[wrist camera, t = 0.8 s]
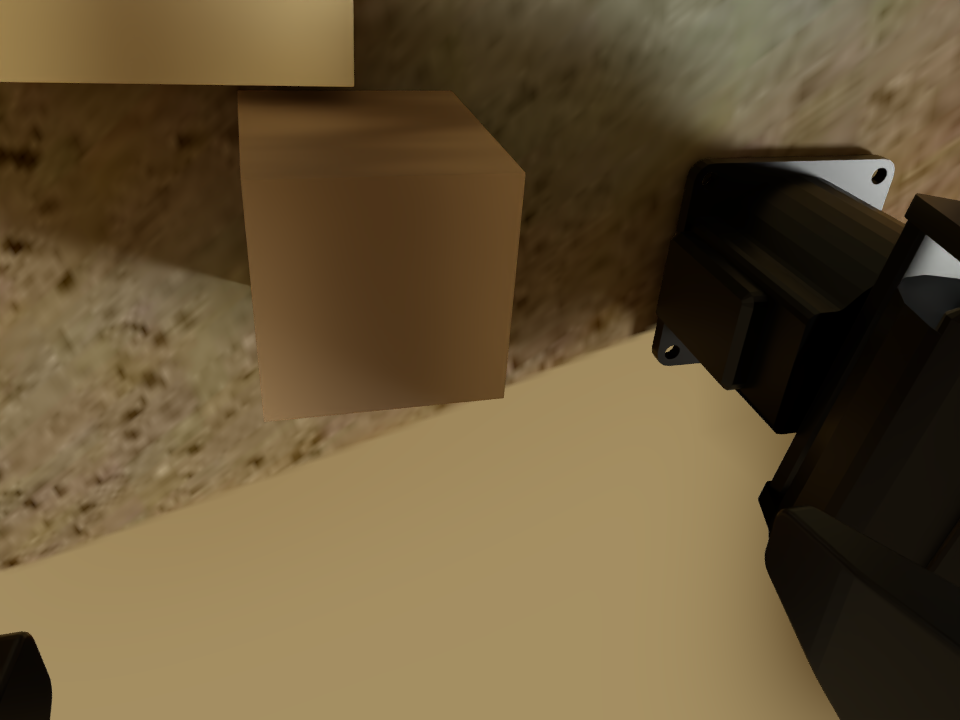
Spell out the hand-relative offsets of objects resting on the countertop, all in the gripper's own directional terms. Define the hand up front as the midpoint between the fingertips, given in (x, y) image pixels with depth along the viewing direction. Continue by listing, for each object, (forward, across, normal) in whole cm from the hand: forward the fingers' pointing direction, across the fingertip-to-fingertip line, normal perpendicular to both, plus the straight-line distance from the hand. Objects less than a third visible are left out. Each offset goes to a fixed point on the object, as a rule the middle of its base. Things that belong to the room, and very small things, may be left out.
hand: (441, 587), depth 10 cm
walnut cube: (+13, 0, 0) cm, 13 cm away
